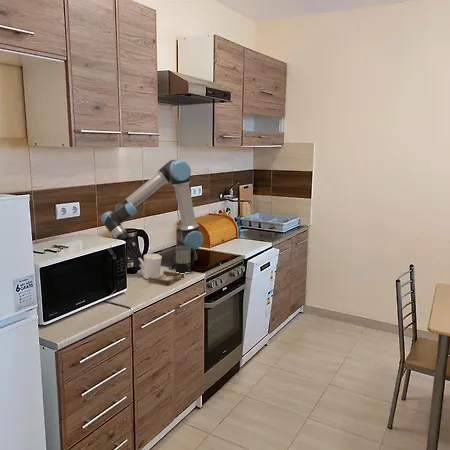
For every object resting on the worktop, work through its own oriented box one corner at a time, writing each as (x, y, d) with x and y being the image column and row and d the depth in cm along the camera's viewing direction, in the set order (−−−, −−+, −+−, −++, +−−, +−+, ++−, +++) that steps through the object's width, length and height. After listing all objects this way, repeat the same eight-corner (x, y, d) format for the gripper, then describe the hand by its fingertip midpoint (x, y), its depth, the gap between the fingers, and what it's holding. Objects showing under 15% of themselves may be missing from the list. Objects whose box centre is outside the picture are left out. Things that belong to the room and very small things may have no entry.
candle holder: (142, 274, 241) (143, 253, 238) (159, 274, 243) (161, 253, 241) (142, 280, 231) (143, 258, 229) (161, 280, 234) (162, 259, 231)
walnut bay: (164, 275, 243) (164, 271, 242) (184, 278, 237) (184, 274, 237) (148, 282, 229) (148, 277, 229) (168, 285, 223) (168, 281, 223)
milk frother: (187, 275, 244) (187, 249, 241) (162, 272, 248) (161, 247, 246) (196, 268, 257) (196, 244, 255) (171, 266, 262) (171, 242, 259)
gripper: (124, 237, 250) (148, 269, 245) (109, 241, 238) (133, 275, 233) (131, 229, 246) (155, 262, 242) (116, 233, 235) (141, 267, 230)
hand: (144, 268), depth 238 cm, fingers closed
